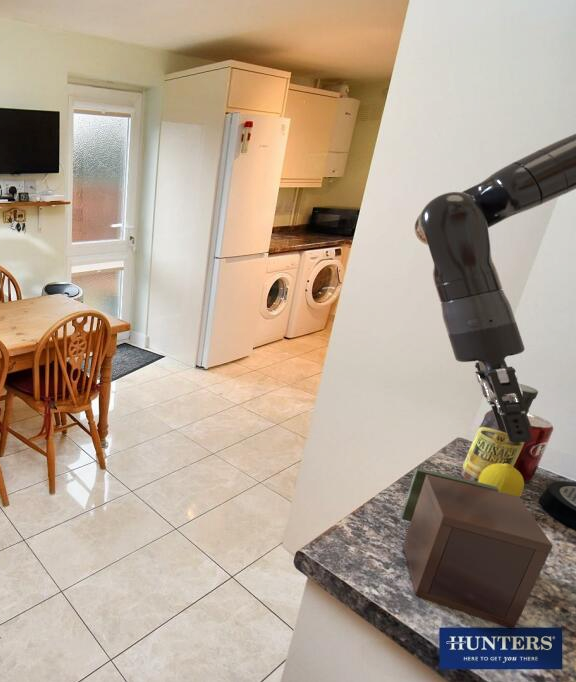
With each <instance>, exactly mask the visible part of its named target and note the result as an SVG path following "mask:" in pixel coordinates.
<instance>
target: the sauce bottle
mask: <svg viewBox="0 0 576 682" xmlns="http://www.w3.org/2000/svg"><path fill="white" fill-rule="evenodd" d="M519 386H520V388H521V390H522V393H523V399H524V402H525V404H526V405H527V411H525V414H524V415H525V418H526V422H527V425H528V428H529V430H530V428H531V424H530V422H529V419H528V416H527V413H529V412H530V408H531V405H532V403H533V401H534V400H535V399H536V398H537V396H538V394H539V391H538V390H537V389H536V388H534V387H532V386H529V385H527V384H523V383H519ZM511 403H515V401H513V400H511ZM507 404H508V403H507ZM524 443H525V442H518V443H513V442H511V441H510V440H509V439H508V436H507V433H506V430H500V429H499V428H498V426H497V423H496V420H495V417H494V413H493V410H492V409H490V410H489V411H487V412H486V413H485V414H484V416H483V420H482V422H481V423H480V425H479V426H478V429H477V431H476V433H475V435H474V438H473V441H472V442H471V445H470V447H469V450H468V452H467V455H466V457H465V459H464V461H463V463H462V468H461V471H460V476H461V478H463V479H467V480H471V481H475V482H478V479H479V476H480V474H481V472H482V471H483V470H484V469H485V468H486V467H487V466H489V465H492V464H497V463H501V464H505V463H507V464H510V465H511V466H512V467H513V466H514V464H515V462H516V460H517V458H518V456H519V454H520V452H521V450H522V447H523V445H524Z"/></svg>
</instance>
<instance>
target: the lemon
mask: <svg viewBox="0 0 576 682" xmlns="http://www.w3.org/2000/svg"><path fill="white" fill-rule="evenodd" d="M478 482H480V483H484V484H488V485H492V486H496V487H497V488H498V490H499V491H498V492H502V493H506V494H510V495H514V496H519V497H520V498H521V496H522V494H523V492H524V488H525V483H524V480H523V477H522V475H521V474H520V472H519V471H518V470H517V469H515V468H514V467H512V466H511V465H510V464H507V463H505V464H501V463H497V464H492V465H489V466H487V467H486V468H485V469H484V470H483V471H482V472H481V474H480V476H479V479H478Z"/></svg>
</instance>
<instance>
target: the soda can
mask: <svg viewBox="0 0 576 682" xmlns="http://www.w3.org/2000/svg"><path fill="white" fill-rule="evenodd" d="M527 416H528V419H529V422H530V424H531V428H530V430H529V431H530V434H531V437H532V440H531V441H529V442H525V443H524V445H523V447H522V450H521V452H520V454H519V456H518V458H517V460H516V462H515V464H514V466H513V467H514V468H515V469H517V470H518V471H519V472H520V474H521V475H522V477H523V480H524V484H526V483H530V482H532V481H533V480H534V477H535V474H536V473H537V471H538V467H539V465H540V463H541V460H542V458H543V456H544V453H545V452H546V449H547V446H548V443H549V441H550V439H551V436H552V434H553V432H554V426H553V424H552V423H551V422H550V421H549V420H547V419H545V418H543V417H541V416H539V415H536V414H532V413H529V412H528V413H527Z"/></svg>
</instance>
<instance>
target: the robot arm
mask: <svg viewBox="0 0 576 682" xmlns="http://www.w3.org/2000/svg"><path fill="white" fill-rule="evenodd" d="M575 190H576V133H574V134H571V135H568V136H566V137H564V138H561V139H559V140H557V141H555V142H553V143H550V144H548V145H546V146H544V147H542V148H540V149H537V150H535V151H534V152H531V153H529V154H528V155H526V156H523V157H521V158H519V159H517V160H515V161H513V162H512V163H509V164H507V165H505V166H504V167H502V168H500V169H498V170H497V171H495V172H493V173H491V175H489V176H488V177H487V178H486V179H484V180H483V181H481V182H479V183H478V184H475V185H474V186H471V187H469V188H467V189H465V190H463V191H450V192H446V193H442V194H440V195H438V196H436V197H434V198H433V199H431V200H430V201H429V202H428V203H427V204H426V205H425V206H424V207H423V209H422V210H421V212H420V213H419V215H418V216H417V217H416V220H415V224H414V234H415V236H416V238H417V239H418V241H419V242H421V243H422V244H424V245H426V246H428V250H429V252H430V253H429V254H430V255H431V259H432V262H433V269H432V278H433V283H434V287H435V290H436V293H437V297H438V300H439V303H440V306H441V314H442V320H443V323H444V326H445V327H444V328H445V329H446V333H447V336H448V339H449V343H450V346H451V349H452V353H453V355H454V359H455V360H456V362H459V363H471V362H474V363H475V365H474V367H475V369H476V371H474V375H475V377H476V381H477V382H478V383H479V387H480V390H481V392H482V395H483V396H484V398H485V399H486V402H487V403H488V405H489V406H491V410H493V413H494V417H495V420H496V423H497V426H498V428H499V429H500V430H506V433H507V436H508V439H509V440H510V441H511V442H513V443H518V442H529V441H531V440H532V437H531V434H530V431H529V428H528V425H527V422H526V418H525V415H524V414H525V411H527V405H526V404H525V402H524V399H523V393H522V390H521V388H520V386H519V384H520V383H519V382H518V373H517V371H516V369H515V367H513V366H508V364H507V362H506V360H505V359H506V358H507V357H511V356H516V355H520V354H523V352H524V351H525V350H526V349H525V345H524V342H523V340H522V336H521V332H520V330H519V327H518V324H517V321H516V318H515V314H514V311H513V308H512V305H511V303H510V301H509V299H508V297H507V296H506V294H505V291H504V290H503V286H502V282H501V278H500V276H499V273H498V270H497V268H496V265H495V263H494V260H493V258H492V251H491V250H492V248H491V240H490V233H489V228H491V227H493V226H495V225H497V224H499V223H501V222H503V221H504V220H507V219H509V218H510V217H513V216H515V215H518V214H521V213H523V212H526V211H529V210H532V209H535V208H537V207H539V206H541V205H544V204H546V203H548V202H550V201H552V200H555V199H557V198H559V197H562V196H564V195H566V194H568V193H570V192H572V191H575ZM511 400H513V401H515V403H511ZM507 403H508V404H507Z"/></svg>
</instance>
